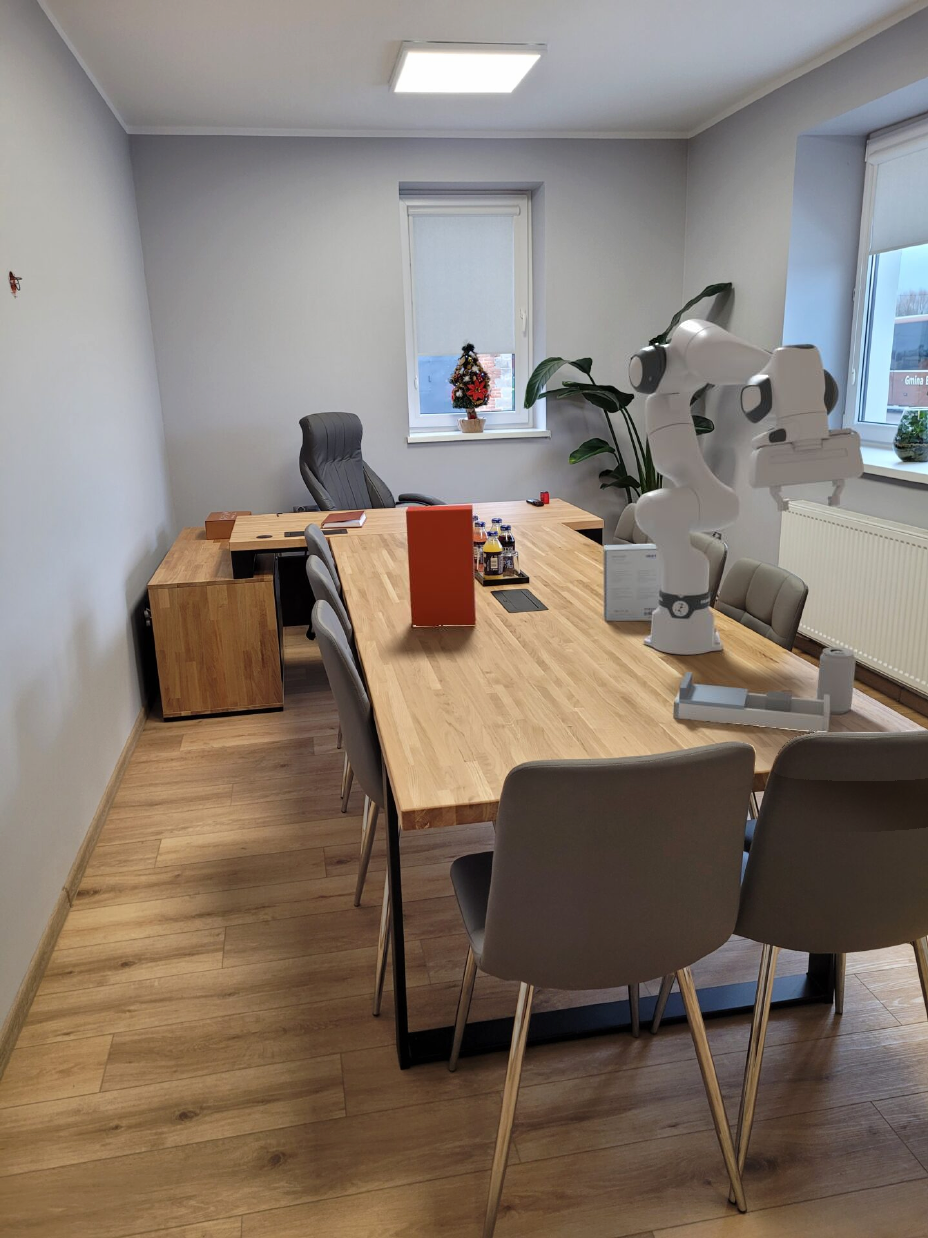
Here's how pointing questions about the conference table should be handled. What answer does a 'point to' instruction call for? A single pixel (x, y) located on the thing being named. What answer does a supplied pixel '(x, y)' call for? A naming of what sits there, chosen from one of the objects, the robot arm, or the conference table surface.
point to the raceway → (762, 713)
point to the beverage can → (836, 678)
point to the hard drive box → (631, 581)
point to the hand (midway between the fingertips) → (808, 508)
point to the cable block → (778, 701)
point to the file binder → (441, 565)
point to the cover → (711, 694)
